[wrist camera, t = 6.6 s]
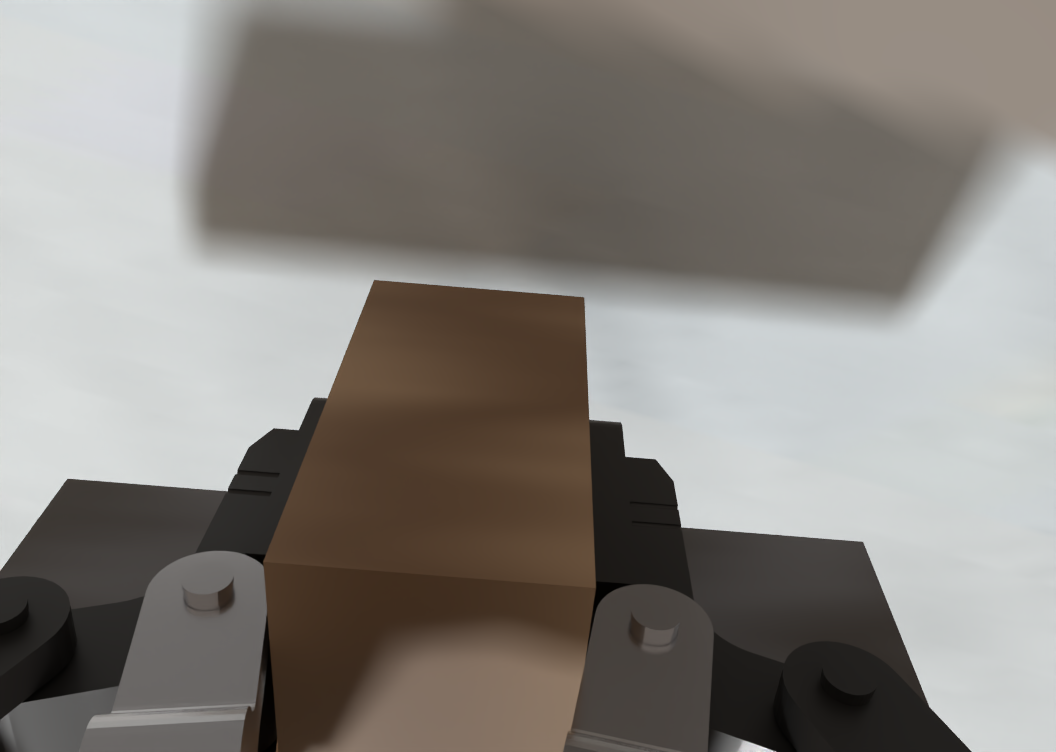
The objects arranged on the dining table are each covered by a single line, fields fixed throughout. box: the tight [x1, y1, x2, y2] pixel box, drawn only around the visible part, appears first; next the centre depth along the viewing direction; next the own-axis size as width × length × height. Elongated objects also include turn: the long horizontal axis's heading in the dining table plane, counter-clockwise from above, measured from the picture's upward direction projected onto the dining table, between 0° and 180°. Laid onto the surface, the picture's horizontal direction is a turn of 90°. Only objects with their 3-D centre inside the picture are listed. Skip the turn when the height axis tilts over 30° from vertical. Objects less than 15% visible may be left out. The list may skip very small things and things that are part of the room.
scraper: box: [0, 280, 929, 752], centre depth 13 cm, size 13×5×6 cm, turn 86°
